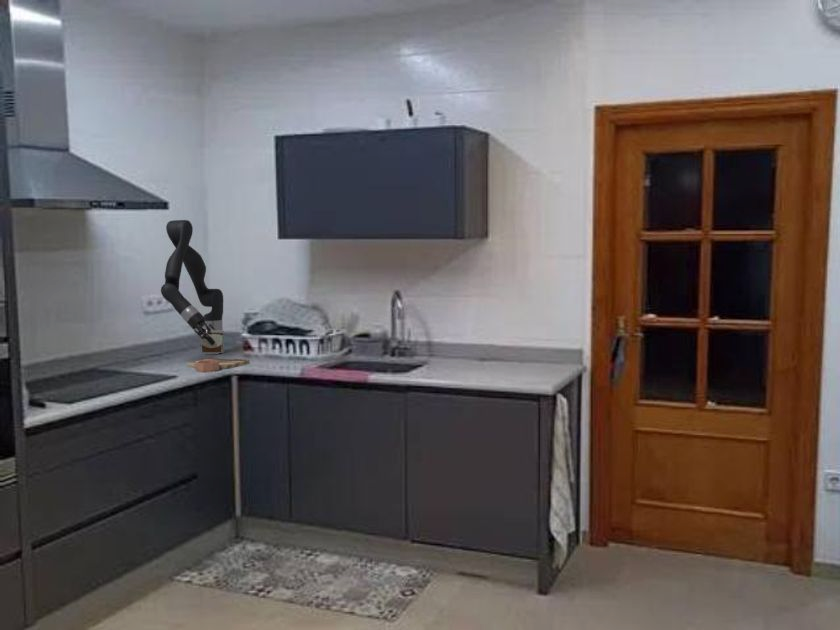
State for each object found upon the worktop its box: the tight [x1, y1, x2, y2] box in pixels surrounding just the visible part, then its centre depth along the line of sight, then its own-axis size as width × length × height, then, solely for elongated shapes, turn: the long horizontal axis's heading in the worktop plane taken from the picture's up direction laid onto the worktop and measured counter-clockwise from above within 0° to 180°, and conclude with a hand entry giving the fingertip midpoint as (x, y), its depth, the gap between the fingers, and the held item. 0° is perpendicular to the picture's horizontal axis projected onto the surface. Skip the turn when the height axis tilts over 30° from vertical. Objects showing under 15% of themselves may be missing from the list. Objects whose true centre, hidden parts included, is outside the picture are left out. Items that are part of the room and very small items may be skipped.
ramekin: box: [194, 360, 219, 373], centre depth 366 cm, size 10×10×4 cm
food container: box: [197, 330, 226, 354], centre depth 381 cm, size 12×6×10 cm, turn 84°
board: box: [186, 357, 250, 370], centre depth 381 cm, size 18×22×2 cm
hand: (217, 342), depth 381 cm, fingers closed on food container, 6 cm apart
